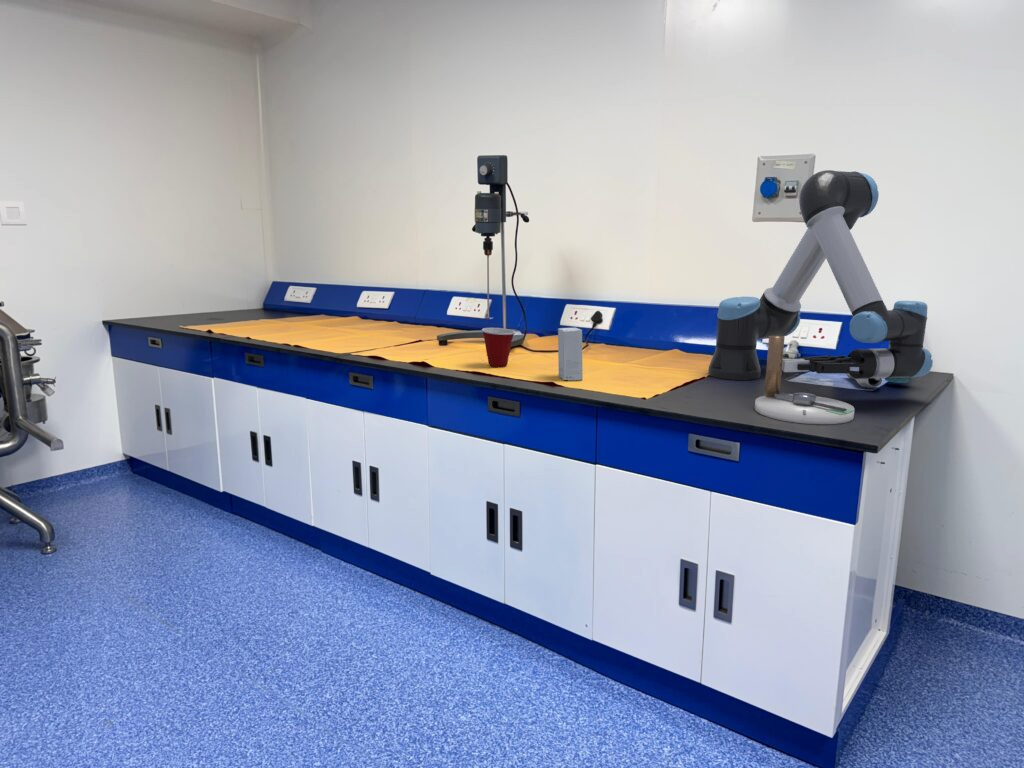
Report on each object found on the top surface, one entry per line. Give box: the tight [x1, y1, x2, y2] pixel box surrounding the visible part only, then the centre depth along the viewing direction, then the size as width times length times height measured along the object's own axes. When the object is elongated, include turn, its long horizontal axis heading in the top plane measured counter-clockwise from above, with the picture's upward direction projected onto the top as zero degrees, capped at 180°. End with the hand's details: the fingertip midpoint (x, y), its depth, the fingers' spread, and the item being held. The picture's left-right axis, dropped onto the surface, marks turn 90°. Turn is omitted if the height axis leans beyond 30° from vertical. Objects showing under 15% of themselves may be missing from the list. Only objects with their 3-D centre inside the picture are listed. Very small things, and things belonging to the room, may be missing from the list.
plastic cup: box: [481, 327, 516, 368], centre depth 225 cm, size 11×11×12 cm
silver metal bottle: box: [844, 373, 883, 389], centre depth 199 cm, size 6×7×20 cm
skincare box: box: [557, 327, 584, 381], centre depth 206 cm, size 8×6×15 cm
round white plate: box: [754, 393, 855, 425], centre depth 168 cm, size 22×22×2 cm
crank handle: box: [763, 335, 846, 412], centre depth 166 cm, size 21×5×15 cm, turn 33°
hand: (781, 365), depth 174 cm, fingers open, 2 cm apart
